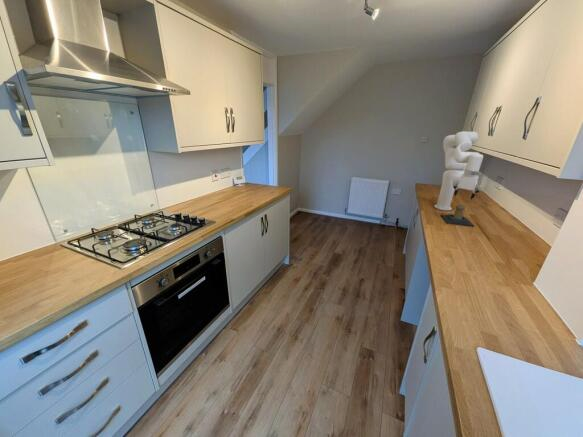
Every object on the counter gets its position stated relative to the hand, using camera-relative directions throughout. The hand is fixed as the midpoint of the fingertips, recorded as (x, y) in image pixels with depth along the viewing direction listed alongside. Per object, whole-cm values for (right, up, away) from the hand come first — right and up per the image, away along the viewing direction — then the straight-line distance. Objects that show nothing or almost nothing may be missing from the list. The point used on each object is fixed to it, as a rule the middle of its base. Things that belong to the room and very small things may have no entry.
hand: (463, 197), depth 165 cm
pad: (-1, -17, +6) cm, 18 cm away
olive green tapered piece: (-1, -16, +6) cm, 17 cm away
